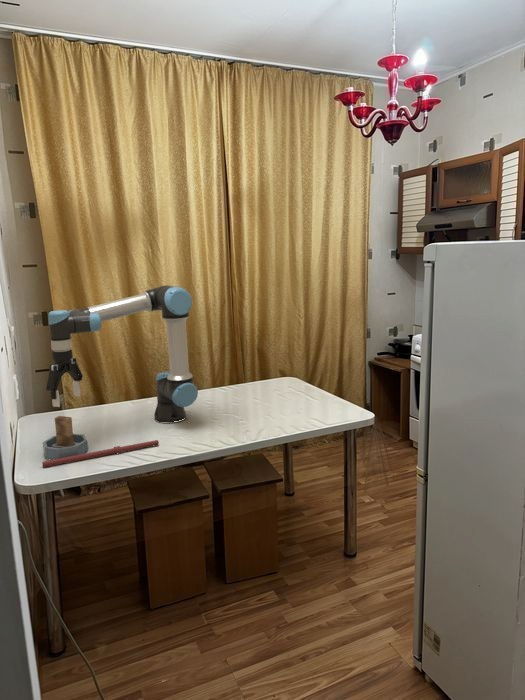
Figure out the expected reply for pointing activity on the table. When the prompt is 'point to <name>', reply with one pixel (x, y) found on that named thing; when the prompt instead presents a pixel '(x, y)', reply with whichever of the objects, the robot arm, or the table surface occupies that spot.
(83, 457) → the rolling pin
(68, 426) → the flat wood plank
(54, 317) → the robot arm
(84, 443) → the octagonal blue tray
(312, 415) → the table surface
